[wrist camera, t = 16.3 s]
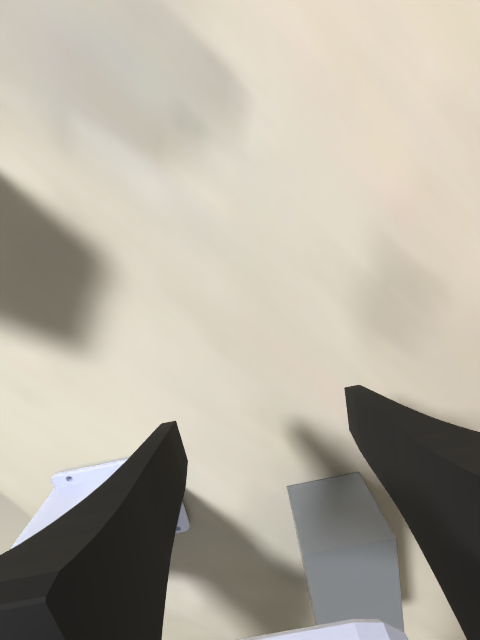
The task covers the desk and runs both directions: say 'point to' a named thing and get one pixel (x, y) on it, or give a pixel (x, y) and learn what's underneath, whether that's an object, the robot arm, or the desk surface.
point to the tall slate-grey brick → (346, 551)
